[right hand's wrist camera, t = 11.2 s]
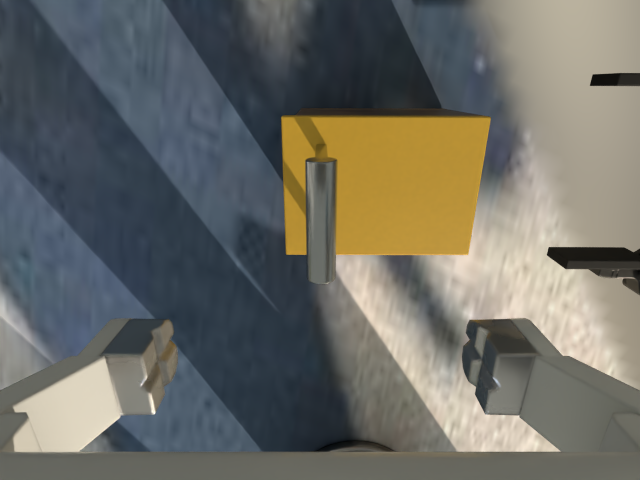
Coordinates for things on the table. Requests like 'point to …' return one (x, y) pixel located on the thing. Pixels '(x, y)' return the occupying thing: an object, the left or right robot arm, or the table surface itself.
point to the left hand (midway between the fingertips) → (577, 176)
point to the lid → (379, 186)
